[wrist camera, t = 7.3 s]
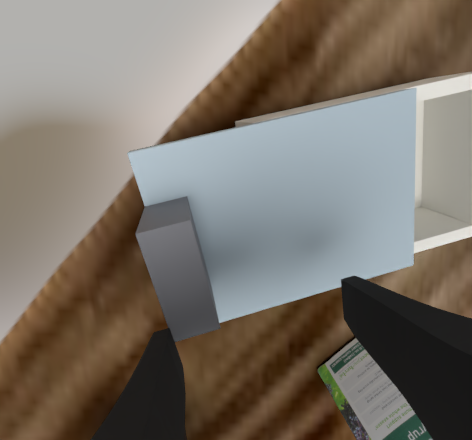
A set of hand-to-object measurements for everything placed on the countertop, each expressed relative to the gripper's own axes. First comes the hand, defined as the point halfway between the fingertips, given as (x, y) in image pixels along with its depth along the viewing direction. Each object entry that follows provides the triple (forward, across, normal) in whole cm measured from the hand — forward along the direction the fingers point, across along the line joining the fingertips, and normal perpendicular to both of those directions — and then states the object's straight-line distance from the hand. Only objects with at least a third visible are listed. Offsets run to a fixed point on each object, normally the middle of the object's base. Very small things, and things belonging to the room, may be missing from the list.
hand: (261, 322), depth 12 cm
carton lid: (+5, -3, -2) cm, 6 cm away
